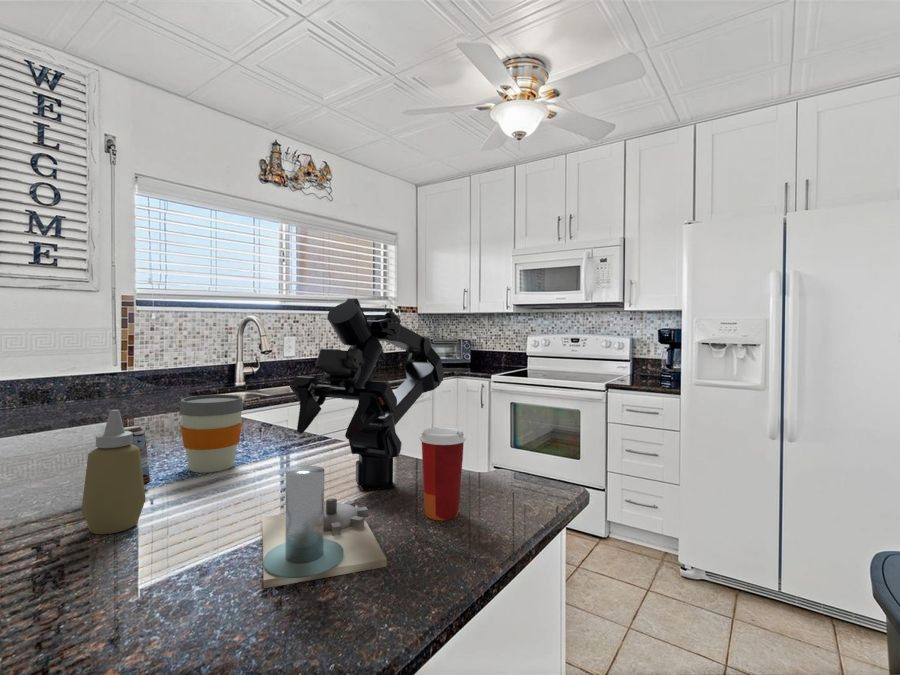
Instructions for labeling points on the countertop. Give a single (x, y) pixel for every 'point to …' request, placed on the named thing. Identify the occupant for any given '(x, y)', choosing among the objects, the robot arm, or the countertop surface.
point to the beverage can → (141, 450)
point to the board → (343, 547)
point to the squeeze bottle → (113, 480)
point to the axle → (304, 514)
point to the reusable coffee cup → (211, 431)
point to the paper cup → (442, 471)
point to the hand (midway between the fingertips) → (322, 435)
